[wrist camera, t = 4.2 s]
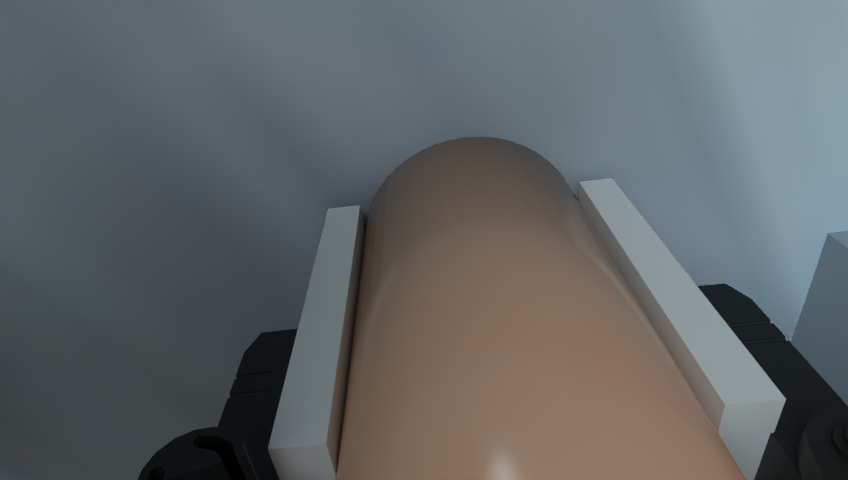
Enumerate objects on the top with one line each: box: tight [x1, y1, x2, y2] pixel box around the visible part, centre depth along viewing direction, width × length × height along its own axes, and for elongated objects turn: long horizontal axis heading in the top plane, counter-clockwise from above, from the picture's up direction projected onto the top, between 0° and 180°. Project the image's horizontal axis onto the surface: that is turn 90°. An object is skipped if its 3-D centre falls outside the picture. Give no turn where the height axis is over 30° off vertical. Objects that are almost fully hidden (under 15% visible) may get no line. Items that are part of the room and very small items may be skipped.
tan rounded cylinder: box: [336, 137, 746, 480], centre depth 9 cm, size 5×5×10 cm
